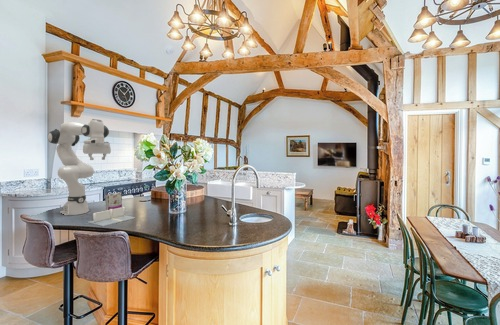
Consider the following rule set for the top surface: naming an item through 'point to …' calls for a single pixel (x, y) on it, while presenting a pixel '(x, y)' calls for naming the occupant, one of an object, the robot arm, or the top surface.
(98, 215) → the panel
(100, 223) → the mat
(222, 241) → the top surface
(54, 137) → the robot arm
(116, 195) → the candy bar box
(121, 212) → the fixed fence
